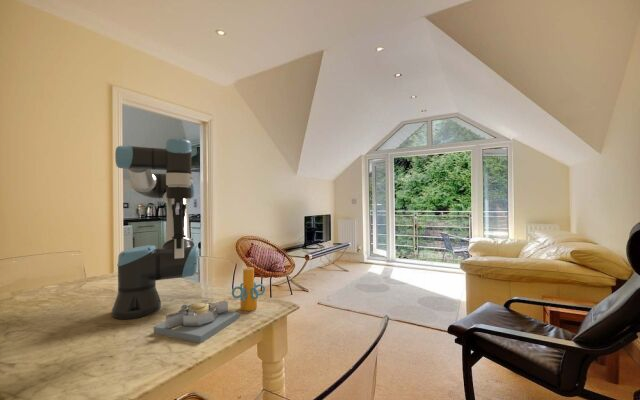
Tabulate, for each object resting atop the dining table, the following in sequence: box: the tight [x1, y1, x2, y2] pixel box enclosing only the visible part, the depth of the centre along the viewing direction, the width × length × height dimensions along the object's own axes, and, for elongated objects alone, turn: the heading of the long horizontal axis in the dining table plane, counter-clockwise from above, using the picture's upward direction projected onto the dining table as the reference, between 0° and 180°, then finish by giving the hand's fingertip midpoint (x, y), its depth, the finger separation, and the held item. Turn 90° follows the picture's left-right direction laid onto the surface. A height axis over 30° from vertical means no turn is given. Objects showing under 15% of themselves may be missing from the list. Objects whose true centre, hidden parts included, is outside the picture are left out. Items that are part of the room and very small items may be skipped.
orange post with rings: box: [231, 266, 266, 312], centre depth 108 cm, size 12×10×15 cm
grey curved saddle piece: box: [165, 299, 229, 328], centre depth 94 cm, size 19×11×4 cm, turn 134°
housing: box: [153, 302, 240, 344], centre depth 94 cm, size 18×18×7 cm
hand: (179, 257), depth 96 cm, fingers closed
